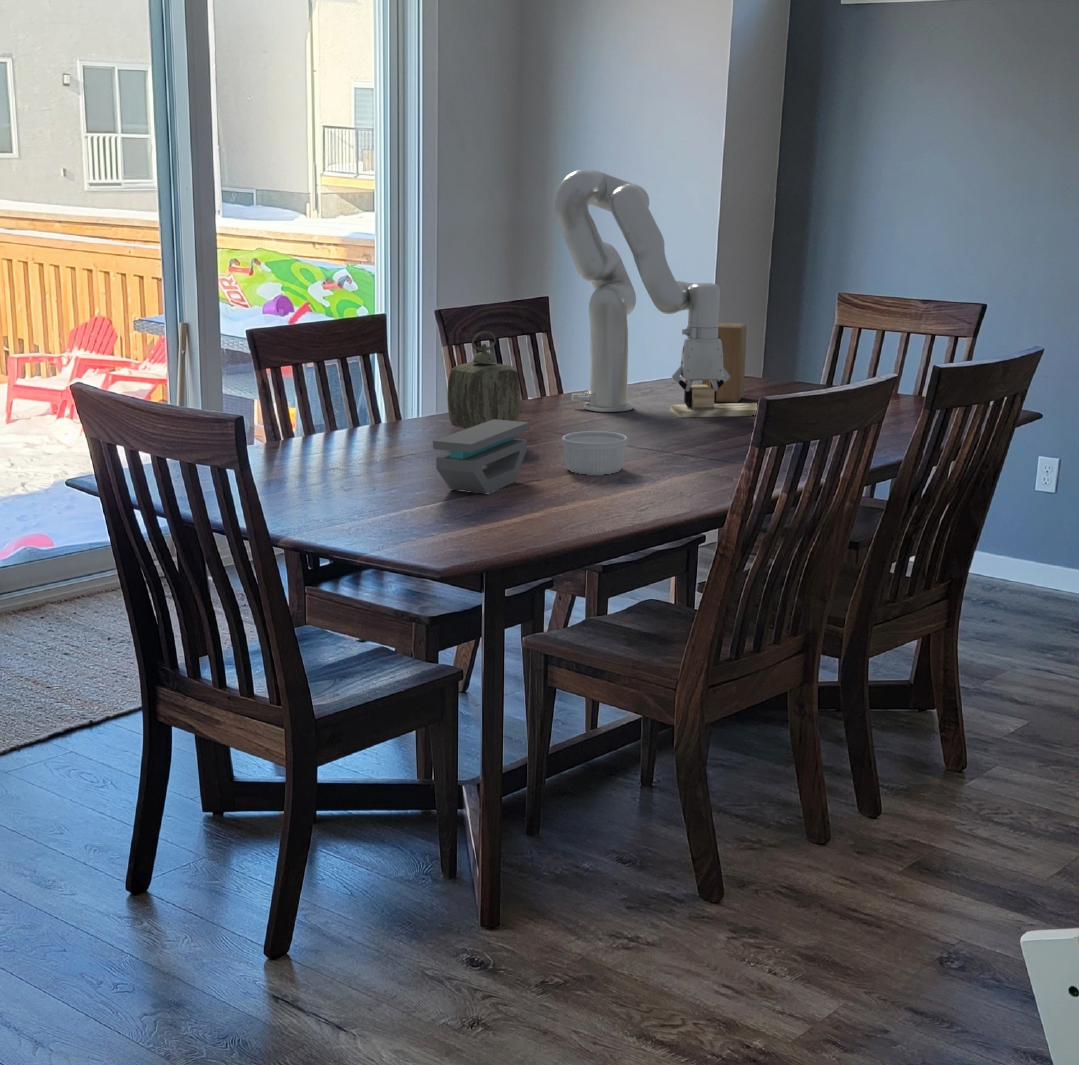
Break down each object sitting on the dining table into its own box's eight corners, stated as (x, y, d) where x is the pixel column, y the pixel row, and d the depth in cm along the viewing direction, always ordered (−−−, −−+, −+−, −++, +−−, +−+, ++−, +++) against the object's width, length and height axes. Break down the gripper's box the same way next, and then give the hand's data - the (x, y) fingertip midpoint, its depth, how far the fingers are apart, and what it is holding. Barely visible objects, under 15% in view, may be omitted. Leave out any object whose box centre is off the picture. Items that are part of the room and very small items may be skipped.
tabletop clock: (496, 436, 313) (495, 327, 306) (523, 442, 306) (523, 330, 300) (448, 445, 303) (446, 332, 296) (475, 451, 297) (474, 336, 290)
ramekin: (572, 478, 271) (572, 444, 269) (553, 465, 283) (554, 432, 281) (635, 475, 274) (636, 441, 272) (614, 462, 286) (615, 429, 285)
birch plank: (679, 417, 338) (679, 411, 337) (669, 410, 347) (670, 404, 347) (773, 415, 341) (773, 409, 340) (761, 408, 350) (761, 402, 350)
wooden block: (700, 401, 361) (703, 325, 356) (707, 395, 370) (709, 321, 365) (738, 403, 358) (741, 327, 353) (744, 397, 367) (747, 323, 362)
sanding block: (713, 410, 339) (714, 390, 338) (694, 410, 338) (694, 390, 337) (705, 404, 348) (706, 384, 346) (686, 404, 347) (686, 385, 346)
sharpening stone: (494, 472, 276) (493, 419, 274) (529, 475, 273) (529, 422, 270) (434, 498, 254) (433, 440, 252) (471, 502, 251) (470, 444, 248)
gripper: (672, 336, 333) (670, 409, 338) (740, 335, 336) (736, 408, 341) (665, 332, 341) (663, 404, 345) (731, 331, 343) (728, 403, 348)
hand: (699, 405), depth 343 cm, fingers closed on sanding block, 5 cm apart
